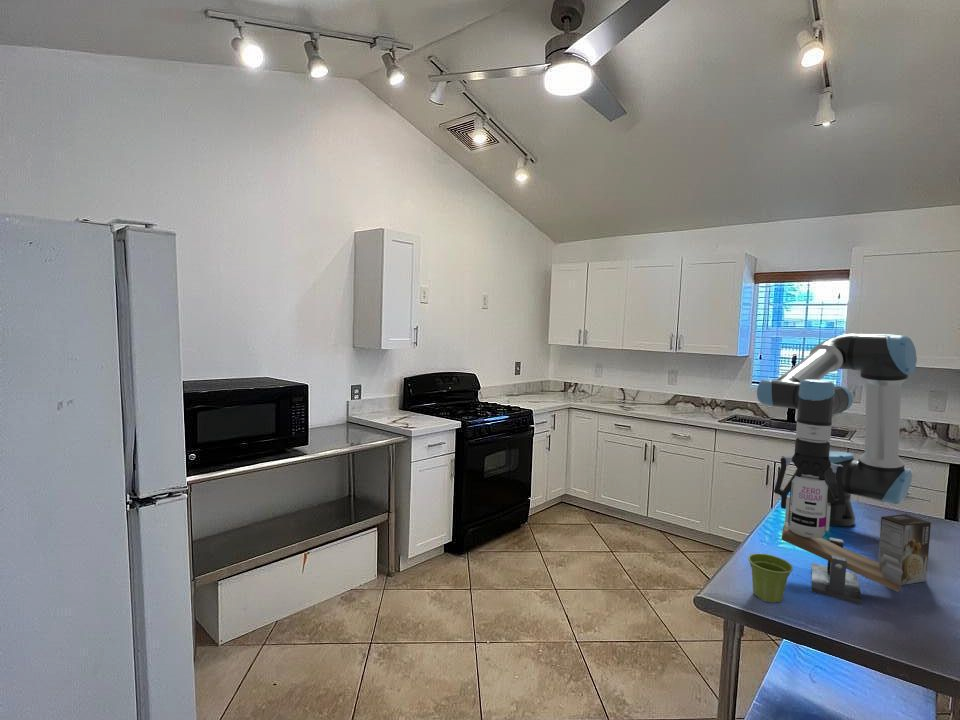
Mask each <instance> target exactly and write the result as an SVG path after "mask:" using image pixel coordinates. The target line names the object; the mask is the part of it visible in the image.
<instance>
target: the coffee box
mask: <svg viewBox="0 0 960 720" xmlns="http://www.w3.org/2000/svg"><path fill="white" fill-rule="evenodd" d="M880 517H881V518H880V530H879V531H880V532H879V543H878V558H877V562H878V563H880V560H881V558H882V556H883V554H885V555H888V556H890V557H892V558H895V559H897V560H898V561H899V564H900V566H901V569H902V571H903V574H902V576H901V578H900V580H899V582H900V585H901V586H904V585H910V584H916V583H917V584H918V583H923V582H927V575H928V565H929V564H928V562H929V553H930V537H931V527H932V526H931V524H932V522H930V521H928V520H925V519H921V518H919V517H915V516H913V515H910V514H906V513H905V514H904V513H903V514H894V515H886V516H885V515H884V516H880Z"/></svg>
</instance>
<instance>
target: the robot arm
mask: <svg viewBox="0 0 960 720" xmlns="http://www.w3.org/2000/svg"><path fill="white" fill-rule="evenodd" d="M917 360H918V359H917V351H916V347H915V343H914V342H913V340H912V339H911V338H910V337H909V336H907V335H903V334H902V335H899V334H892V333H890V334H889V333H845V334H840V335H837V336H834V337H831V338H828V339H826V340H824V341H821V342H820V343H818V344H817V345H815V346H814V347H813V348H811V350H810V352H809V353H808V355H807V356H806V357H805V358H804V359H802V360H801V361H800V362H798V363H797V364H796V365H794V366H793V367H792V368H789V370H788V371H786V372H784V373H783V375H781V376H779V377H778V378H777V379H773V378H771V379H769V378H767V379H764V378H763V379H762V380H760V382H759V383H758V385H757V387H756V398H757V401H758V402H759V403H760V404H762V405H767V406H771V407H779V408H787V409H796V410H797V415H796V417H797V418H796V429H795V430H796V431H795V433H796V434H795V436H796V438H795V443H794V454H793V455H792V456H791V457H788V456H787V457H786V456H785V455H784V456H781V457H780V468H779V472H778V476H777V479H776V483H775V486H774V489H773V493H774V494H776V495H779V496H780V497H781V498H780V508H781V509H784V510H785V511H784V512H785V516H784V523H788V518H789V504H790V491H791V486H792V480H793V479H794V477H795V475H796V476H798V477H800V476H801V475H802V474H803V475H812V476H816V477H817V476H819V479H820V480H825V482H826V484H827V486H828V493H827V497H828V499H827V511H826V525H825V532H829V531H830V526H835V527H852V526H851V525H853V524H854V525H855V524H856V515H855V511H854V508H853V505H852V502H851V499H852V497H851V495H853V496H858V497H862V498H865V499H870V500H874V501H878V502H881V503H883V504H884V503H885V504H886V503H887V504H892V505H899V504H901V503H902V502H904V500H905V499H906V497H907V495H908V492H909V489H910V486H911V482H912V477H913V475H912V471H911V470H910V469H908V468H905V461H904V460H903V459H901V457H900V455H899V454H900V453H899V452H900V451H899V449H900V425H901V424H900V423H901V401H902V400H901V398H902V397H901V396H902V384H903V383H904V382H905V381H907V380H908V379H909V378H908V377H909V375H913V373H915V371H916V369H917V363H918V362H917ZM839 370H852V371H853V370H854V371H860V379H862V380H863V381H864V382H865V384H866V385H865V415H864V416H865V419H864V420H865V421H864V422H865V423H864V424H865V425H864V452H863V453H862V454H861V455H859V456H858V459H855V455H854V454H853V453H850V452H846V451H832V450H830V448H831V442H829V441H831V440H832V439H831V438H832V437H831V436H832V422H833V420H832V419H833V414H834V415H836V414H841V413H843V412H845V411H847V410H849V409H850V408H851V407H852V405H853V402H854V399H853V398H854V397H853V395H852V392H851V391H850V390H849V389H848V388H847V387H845V386H843V385H839V384H834V382H832V381H831V380H826V379H823V378H824V377H825V376H826V375H828V374H829V373H832V372H836V371H839ZM791 463H793V464H794V465H795V467H796V470H795V472H794V473H793V475H792V476H791V478H790V480H789V481H788V482H787V484H786V485H785V487H784V488H783V489H782V488H781V487H782V483H783V480H784V477H785V475H786V471H787V467H788V466H790V464H791ZM854 525H853V526H854Z"/></svg>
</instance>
